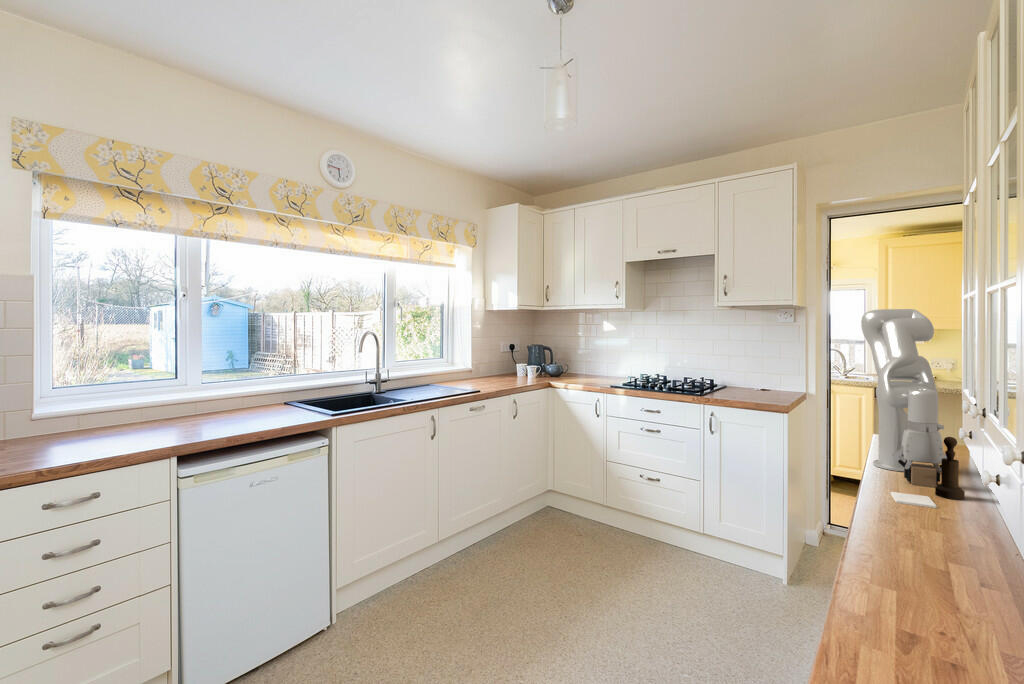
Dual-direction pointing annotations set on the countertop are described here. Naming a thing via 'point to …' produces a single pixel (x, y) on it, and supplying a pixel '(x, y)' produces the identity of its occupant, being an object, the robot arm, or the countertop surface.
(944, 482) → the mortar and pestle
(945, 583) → the countertop surface
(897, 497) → the tile pad
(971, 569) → the countertop surface
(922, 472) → the walnut cube
